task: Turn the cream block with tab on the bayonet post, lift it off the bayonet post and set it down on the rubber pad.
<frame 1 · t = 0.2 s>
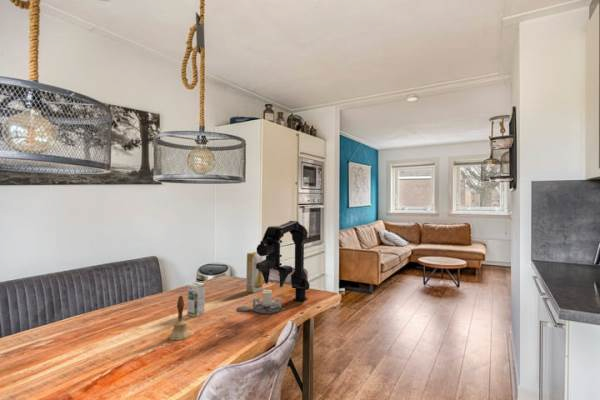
hand: (273, 285, 151), 14 cm above the table, fingers open, 9 cm apart
juice carton: (254, 290, 191), on the table
cream block with tab: (267, 303, 159), point 3 cm above the table, touching bayonet post
rubber pad: (243, 309, 158), on the table
syrup box: (195, 314, 151), on the table
bayonet post: (267, 309, 159), on the table
hand bell: (179, 336, 126), on the table
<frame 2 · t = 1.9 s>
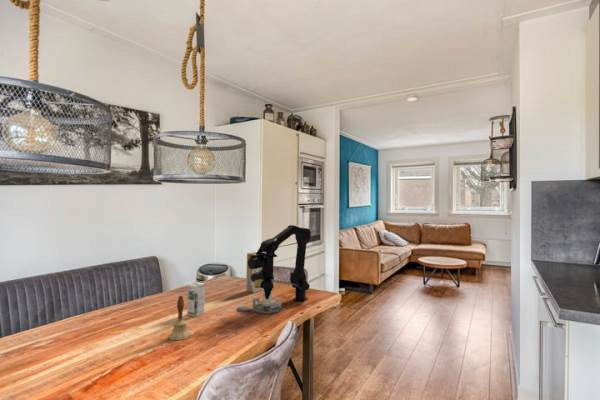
hand: (267, 297, 159), 6 cm above the table, fingers closed on cream block with tab, 4 cm apart
cream block with tab: (267, 303, 159), point 3 cm above the table, touching bayonet post, gripper
everything else where it was.
when the fingers open (4 cm above the table, at t = 6.7 s): cream block with tab drops 1 cm, resting on rubber pad.
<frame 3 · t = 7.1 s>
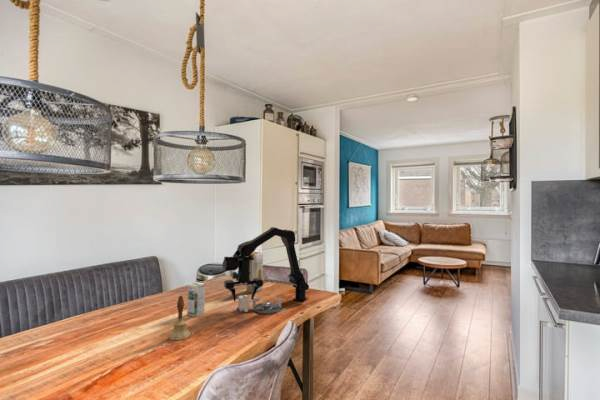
hand: (243, 300, 158), 5 cm above the table, fingers open, 8 cm apart
cream block with tab: (243, 308, 158), resting on rubber pad
everything else where it was.
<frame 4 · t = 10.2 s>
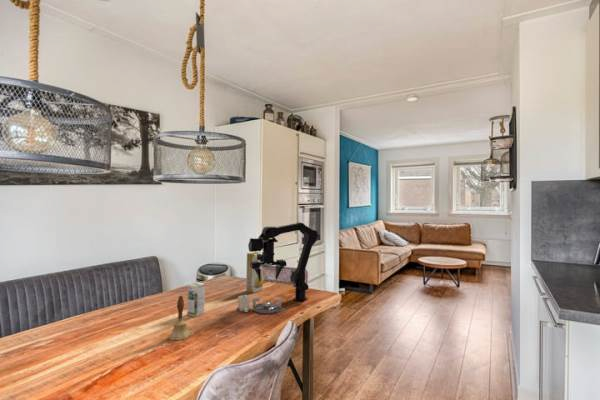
hand: (267, 280, 167), 13 cm above the table, fingers open, 9 cm apart
nothing on the table moved.
at the end: cream block with tab inside the target area on the rubber pad (0.1 cm from its centre), point 0.4 cm above the rubber pad's base; cream block with tab tilted 0°; cream block with tab touching rubber pad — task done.
